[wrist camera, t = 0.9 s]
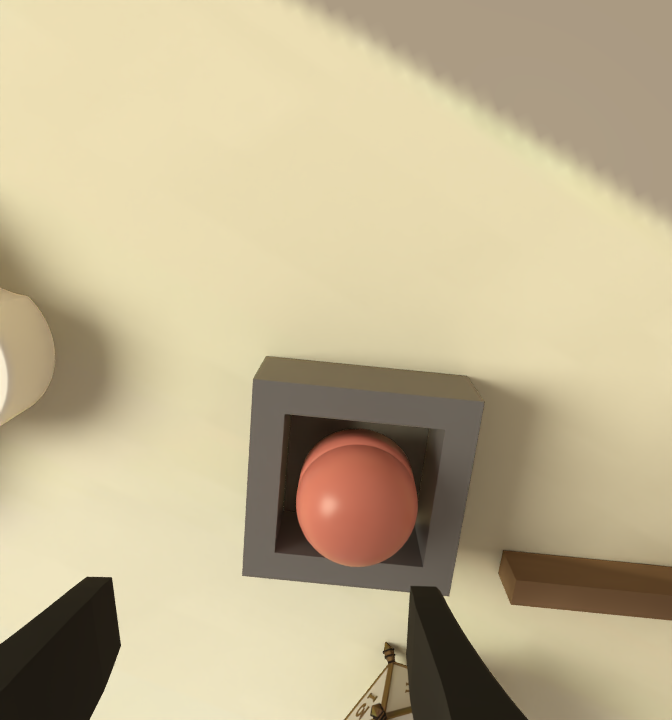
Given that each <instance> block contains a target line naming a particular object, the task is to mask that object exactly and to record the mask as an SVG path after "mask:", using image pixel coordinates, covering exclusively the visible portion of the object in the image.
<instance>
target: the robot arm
mask: <svg viewBox="0 0 672 720" xmlns="http://www.w3.org/2000/svg"><path fill="white" fill-rule="evenodd" d="M120 647H121V643H120V635H119V628H118V620H117V612H116V605H115V597H114V590H113V582H112V577H86V578H85V579H83V580H82V581H81V582H79V583H78V584H77V585H76V586H74V587H73V588H72V589H70V590H69V591H68V592H67V593H65V594H64V595H63V596H62V597H60V598H59V599H58V600H57V601H55V602H54V603H53V604H52V605H50V606H49V607H48V608H47V609H45V610H44V611H43V612H42V613H40V614H39V615H38V616H36V617H35V618H34V619H33V620H31V621H30V622H29V623H27V624H26V625H25V626H24V627H22V628H21V629H20V630H18V631H17V632H16V633H15V634H13V635H12V636H11V637H9V638H8V639H7V640H5V641H4V642H3V643H1V644H0V720H89V719H90V717H91V716H92V714H93V712H94V710H95V708H96V706H97V704H98V702H99V700H100V698H101V696H102V694H103V692H104V690H105V687H106V684H107V682H108V679H109V677H110V674H111V672H112V669H113V666H114V663H115V661H116V658H117V655H118V652H119V650H120ZM406 658H407V671H408V683H409V695H410V703H411V709H412V715H413V720H528V719H527V718H526V717H525V715H524V714H523V713H522V712H521V711H520V710H519V708H518V707H517V706H516V705H515V703H514V702H513V701H512V700H511V699H510V697H509V696H508V695H507V693H506V692H505V691H504V690H503V688H502V687H501V686H500V684H499V683H498V682H497V680H496V679H495V678H494V676H493V675H492V674H491V672H490V671H489V669H488V668H487V667H486V665H485V664H484V662H483V661H482V660H481V658H480V657H479V655H478V654H477V652H476V651H475V649H474V648H473V646H472V645H471V643H470V642H469V640H468V639H467V637H466V635H465V634H464V632H463V631H462V629H461V627H460V626H459V624H458V622H457V621H456V619H455V617H454V616H453V614H452V612H451V610H450V609H449V607H448V605H447V603H446V601H445V599H444V597H443V595H442V593H441V591H440V590H439V589H438V588H437V587H436V586H410V600H409V617H408V634H407V650H406Z"/></svg>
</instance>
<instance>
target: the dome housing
mask: <svg viewBox="0 0 672 720" xmlns="http://www.w3.org/2000/svg"><path fill="white" fill-rule="evenodd" d="M483 407H484V400H483V399H482V398H481V396H480V395H479V393H478V392H477V390H476V389H475V387H474V386H473V384H472V383H471V381H470V380H469V378H468V377H467V376H461V375H451V374H441V373H431V372H420V371H410V370H400V369H390V368H380V367H370V366H360V365H350V364H340V363H329V362H319V361H309V360H299V359H289V358H279V357H269V356H266V357H265V359H264V361H263V362H262V364H261V366H260V368H259V370H258V371H257V373H256V375H255V377H254V378H253V390H252V409H251V427H250V445H249V463H248V481H247V499H246V517H245V535H244V553H243V571H242V576H249V577H259V578H269V579H279V580H290V581H300V582H310V583H320V584H330V585H340V586H350V587H360V588H371V589H381V590H391V591H401V592H410V586H436V587H437V588H438V589H439V590H440V591H441V593H442V595H443V596H449V594H450V589H451V583H452V578H453V572H454V567H455V561H456V556H457V550H458V545H459V539H460V534H461V528H462V523H463V517H464V512H465V506H466V501H467V495H468V490H469V484H470V479H471V473H472V468H473V462H474V457H475V451H476V446H477V440H478V435H479V429H480V424H481V418H482V413H483ZM291 415H300V416H310V417H320V418H330V419H340V420H351V421H361V422H371V423H381V424H391V425H401V426H411V427H421V428H429V432H428V439H427V445H426V452H425V458H424V465H423V471H422V478H421V484H420V491H419V497H418V512H417V518H416V522H415V525H414V528H413V530H412V533H411V535H410V536H409V538H408V540H407V541H406V543H405V544H404V545H403V546H402V547H401V548H400V549H399V550H398V551H397V552H396V553H395V554H394V555H393V556H391V557H390V558H388V559H386V560H384V561H382V562H380V563H378V564H374V565H371V566H366V567H350V566H344V565H341V564H338V563H335V562H333V561H331V560H329V559H327V558H325V557H324V556H322V555H321V554H320V553H319V552H318V551H316V550H315V549H314V548H313V546H312V545H311V544H310V543H309V542H308V540H307V539H306V537H305V535H304V533H303V531H302V529H301V527H300V524H299V521H298V517H297V512H291V511H284V501H285V488H286V475H287V462H288V449H289V436H290V423H291Z"/></svg>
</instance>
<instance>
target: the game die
mask: <svg viewBox="0 0 672 720" xmlns="http://www.w3.org/2000/svg"><path fill="white" fill-rule="evenodd" d="M393 650H394V648H392V647H391V646H389V645H388V644H387V643H386V642H385V648H384V651H383V654H385V659H386V660H387V661H388V665H387V666H386V668H385V669H384V670H383V671H382V673H381V674H380V675H379V676H378V678H377V679H376V680H375V681H374V683H373V684H372V685H371V687H370V688H369V689H368V690H367V692H366V693H365V694H364V695H363V697H362V698H361V699H360V700H359V702H358V703H357V704H356V705H355V707H354V708H353V709H352V710H351V712H350V713H349V714H348V715H347V717H346V718H345V719H344V720H413V715H412V709H411V703H410V695H409V683H408V671H407V666H406V665H403V664H400V663H397V662H395V654H394V651H393Z"/></svg>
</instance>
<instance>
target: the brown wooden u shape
mask: <svg viewBox="0 0 672 720" xmlns="http://www.w3.org/2000/svg"><path fill="white" fill-rule="evenodd" d="M498 574H499V576H500V579H501V581H502V584H503V586H504V589H505V591H506V594H507V596H508V599H509V601H510V604H511V605H521V606H531V607H541V608H551V609H561V610H571V611H582V612H592V613H602V614H612V615H622V616H632V617H642V618H652V619H663V620H672V567H666V566H656V565H646V564H636V563H626V562H616V561H605V560H595V559H585V558H575V557H565V556H555V555H545V554H535V553H525V552H514V551H504V550H503V553H502V558H501V563H500V568H499V572H498Z"/></svg>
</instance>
